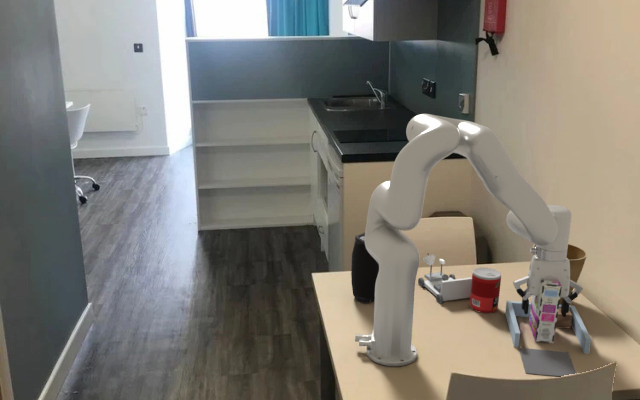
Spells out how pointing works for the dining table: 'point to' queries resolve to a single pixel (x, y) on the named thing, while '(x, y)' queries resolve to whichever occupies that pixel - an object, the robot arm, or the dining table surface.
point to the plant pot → (574, 263)
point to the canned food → (485, 290)
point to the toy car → (445, 283)
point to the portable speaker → (363, 271)
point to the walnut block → (564, 320)
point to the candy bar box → (545, 311)
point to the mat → (546, 362)
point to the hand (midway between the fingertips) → (544, 313)
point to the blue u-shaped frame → (516, 310)
